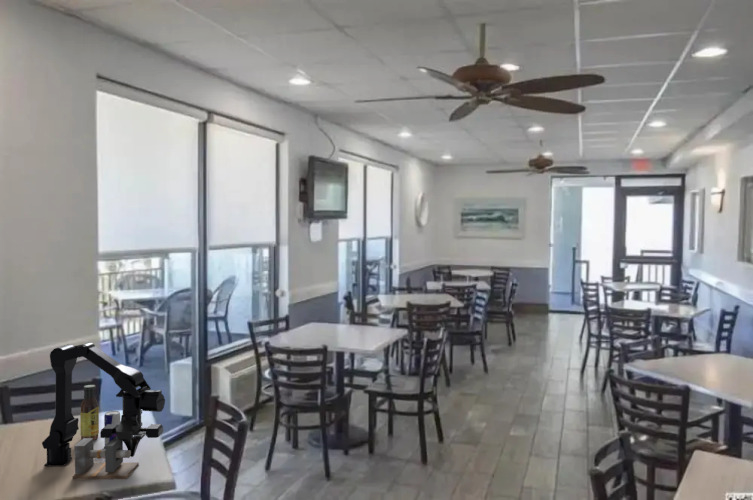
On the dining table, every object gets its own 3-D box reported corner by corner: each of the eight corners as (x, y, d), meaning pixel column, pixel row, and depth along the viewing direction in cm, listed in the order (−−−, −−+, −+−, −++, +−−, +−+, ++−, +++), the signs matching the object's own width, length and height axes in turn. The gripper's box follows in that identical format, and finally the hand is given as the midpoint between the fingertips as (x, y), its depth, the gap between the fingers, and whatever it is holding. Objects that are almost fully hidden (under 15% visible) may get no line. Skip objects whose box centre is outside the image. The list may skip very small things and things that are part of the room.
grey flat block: (105, 472, 202) (105, 445, 201) (115, 461, 210) (115, 436, 210) (113, 472, 202) (112, 445, 201) (123, 461, 210) (122, 436, 210)
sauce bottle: (94, 442, 233) (93, 388, 232) (77, 441, 233) (76, 388, 232) (102, 435, 240) (101, 383, 239) (85, 435, 240) (85, 383, 239)
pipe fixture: (72, 479, 200) (71, 448, 200) (87, 465, 211) (86, 436, 211) (126, 479, 201) (126, 448, 200) (138, 465, 212) (138, 435, 211)
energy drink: (103, 448, 227) (103, 415, 226) (105, 443, 232) (105, 411, 231) (119, 447, 228) (119, 414, 227) (121, 442, 233) (121, 410, 233)
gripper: (93, 417, 200) (93, 466, 201) (152, 417, 201) (153, 466, 202) (106, 407, 211) (107, 453, 212) (163, 407, 212) (163, 452, 213)
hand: (132, 456), depth 209 cm, fingers closed
